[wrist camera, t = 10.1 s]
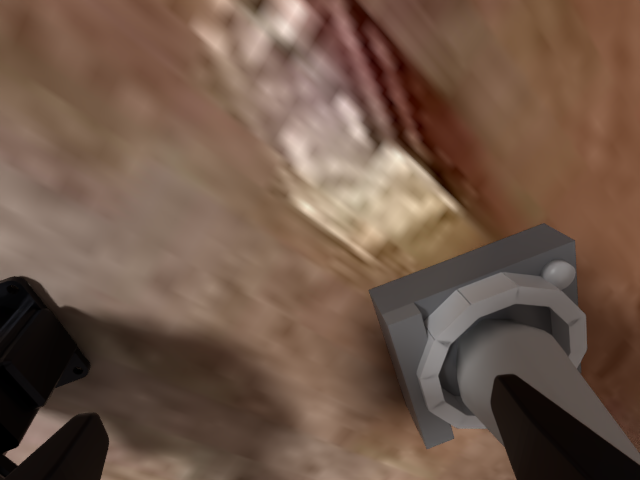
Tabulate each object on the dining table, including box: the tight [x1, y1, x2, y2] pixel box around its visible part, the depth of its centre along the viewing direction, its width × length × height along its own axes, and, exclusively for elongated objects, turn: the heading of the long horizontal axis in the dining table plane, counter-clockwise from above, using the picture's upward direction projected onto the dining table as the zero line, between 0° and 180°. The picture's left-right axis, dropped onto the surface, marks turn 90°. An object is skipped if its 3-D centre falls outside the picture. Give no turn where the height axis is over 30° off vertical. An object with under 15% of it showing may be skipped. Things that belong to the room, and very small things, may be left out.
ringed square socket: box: [369, 223, 587, 449], centre depth 25 cm, size 11×10×4 cm
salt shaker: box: [456, 319, 640, 465], centre depth 18 cm, size 6×6×13 cm
